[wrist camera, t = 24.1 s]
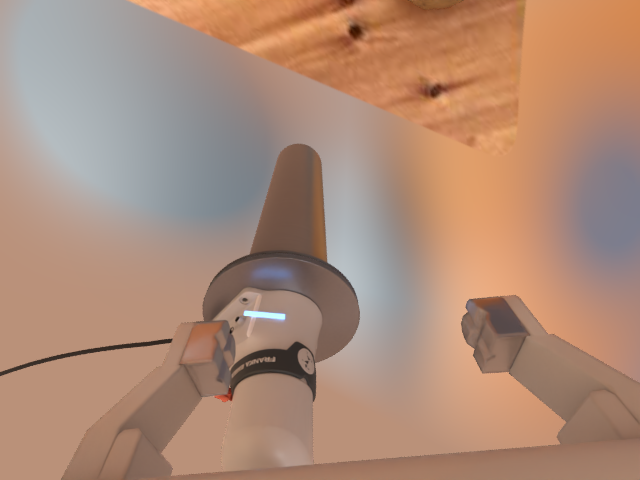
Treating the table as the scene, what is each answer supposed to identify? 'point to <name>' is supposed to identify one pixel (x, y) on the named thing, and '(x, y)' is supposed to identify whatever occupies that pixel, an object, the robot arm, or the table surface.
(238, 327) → the robot arm
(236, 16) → the table surface
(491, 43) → the table surface
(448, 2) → the potato
